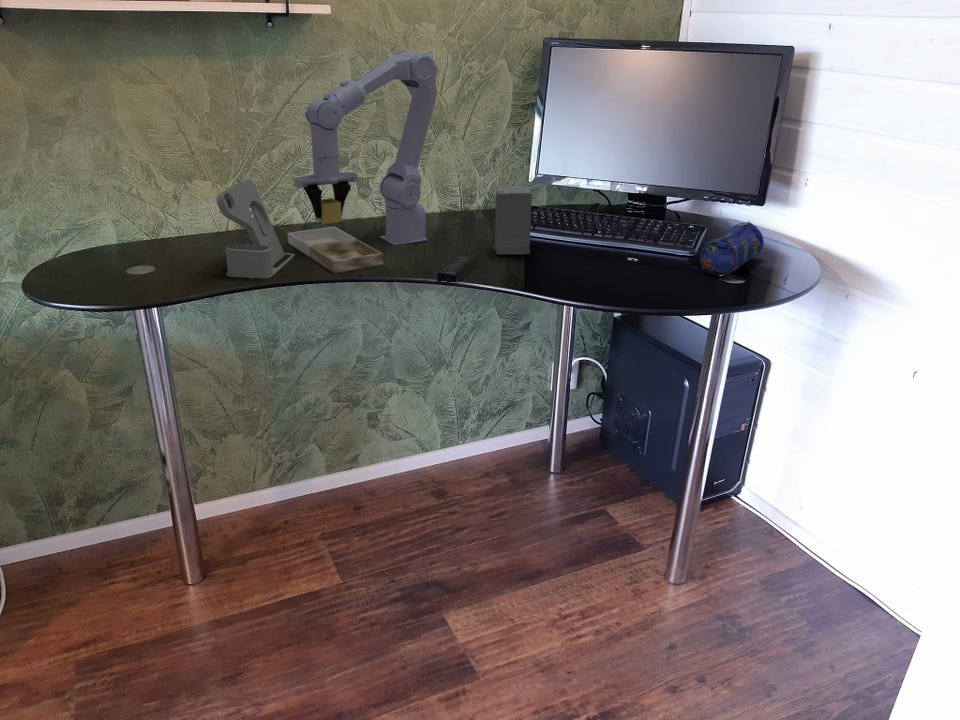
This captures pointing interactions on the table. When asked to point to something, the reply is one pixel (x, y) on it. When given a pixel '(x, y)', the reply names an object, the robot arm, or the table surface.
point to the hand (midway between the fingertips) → (328, 215)
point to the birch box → (347, 256)
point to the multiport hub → (458, 268)
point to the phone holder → (250, 234)
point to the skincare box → (513, 219)
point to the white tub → (317, 238)
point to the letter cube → (330, 211)
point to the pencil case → (732, 248)
